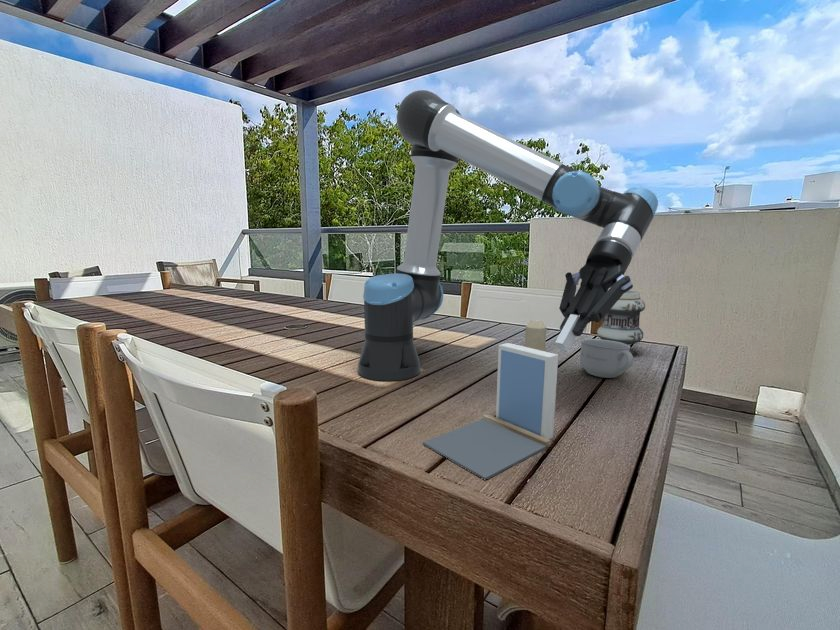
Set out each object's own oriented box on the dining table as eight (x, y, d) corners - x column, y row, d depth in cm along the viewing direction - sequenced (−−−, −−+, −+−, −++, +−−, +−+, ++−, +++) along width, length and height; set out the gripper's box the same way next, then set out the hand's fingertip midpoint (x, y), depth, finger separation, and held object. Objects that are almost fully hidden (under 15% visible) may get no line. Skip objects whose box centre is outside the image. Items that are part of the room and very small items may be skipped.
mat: (486, 419, 75) (486, 417, 75) (549, 446, 65) (549, 444, 65) (422, 444, 66) (422, 442, 66) (485, 480, 56) (485, 478, 56)
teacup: (571, 368, 106) (573, 337, 105) (612, 367, 107) (614, 336, 105) (599, 387, 92) (601, 351, 91) (645, 385, 93) (649, 351, 92)
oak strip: (487, 419, 75) (487, 413, 75) (550, 446, 65) (550, 440, 65) (482, 420, 74) (482, 415, 74) (545, 448, 65) (546, 442, 64)
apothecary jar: (601, 345, 129) (605, 287, 126) (644, 351, 123) (650, 290, 119) (591, 353, 120) (595, 291, 117) (637, 360, 113) (644, 294, 110)
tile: (504, 417, 76) (507, 342, 74) (552, 437, 68) (558, 354, 66) (495, 421, 74) (498, 345, 72) (543, 442, 67) (548, 357, 64)
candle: (545, 354, 118) (547, 320, 116) (544, 359, 113) (546, 323, 111) (525, 353, 120) (527, 318, 118) (523, 358, 115) (525, 322, 113)
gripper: (652, 266, 80) (603, 366, 72) (587, 263, 90) (538, 352, 82) (642, 237, 76) (589, 341, 68) (576, 238, 85) (523, 329, 78)
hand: (561, 347), depth 75 cm, fingers closed
